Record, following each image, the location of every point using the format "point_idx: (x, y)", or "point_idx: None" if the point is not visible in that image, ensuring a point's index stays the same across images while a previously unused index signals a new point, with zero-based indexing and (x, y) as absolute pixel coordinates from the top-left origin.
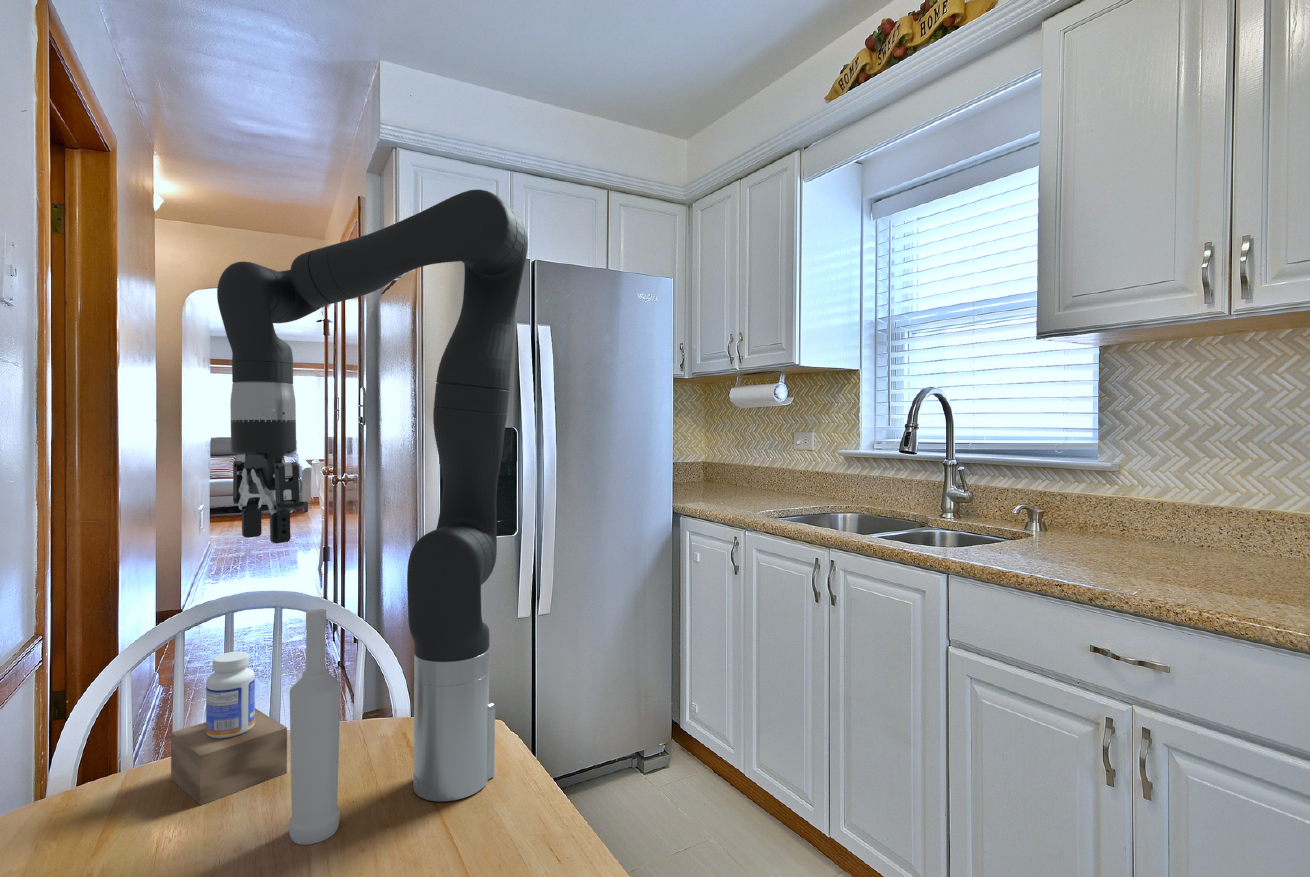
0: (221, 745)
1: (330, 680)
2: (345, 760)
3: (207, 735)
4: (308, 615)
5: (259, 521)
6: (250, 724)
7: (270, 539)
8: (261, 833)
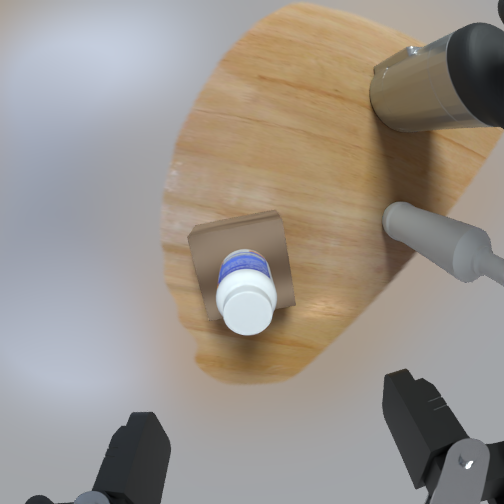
0: (284, 286)
1: (489, 245)
2: (287, 152)
3: None
4: None
5: (140, 455)
6: (263, 257)
7: (386, 420)
8: (370, 252)
